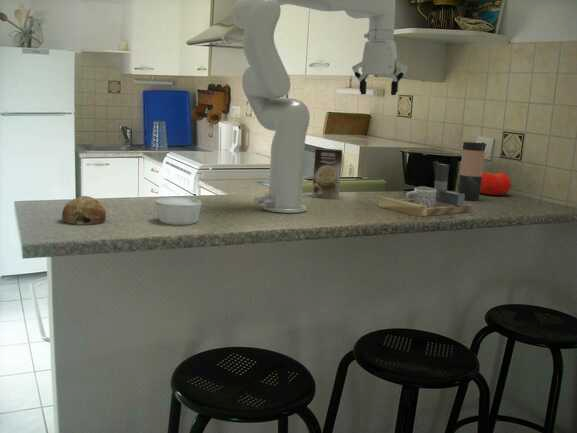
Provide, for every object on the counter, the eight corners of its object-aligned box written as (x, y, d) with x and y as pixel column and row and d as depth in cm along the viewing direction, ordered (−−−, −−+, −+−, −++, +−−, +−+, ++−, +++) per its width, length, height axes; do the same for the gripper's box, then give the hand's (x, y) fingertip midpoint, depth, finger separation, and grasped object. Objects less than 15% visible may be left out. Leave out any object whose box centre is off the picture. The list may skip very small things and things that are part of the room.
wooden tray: (418, 216, 183) (419, 206, 182) (378, 206, 197) (379, 197, 196) (472, 211, 197) (473, 202, 196) (431, 203, 210) (431, 194, 210)
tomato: (504, 193, 246) (507, 171, 244) (512, 198, 234) (515, 175, 232) (471, 191, 247) (474, 169, 246) (477, 195, 235) (479, 173, 234)
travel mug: (482, 199, 225) (488, 143, 221) (476, 202, 219) (482, 144, 215) (461, 197, 229) (466, 141, 225) (454, 199, 223) (460, 142, 219)
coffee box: (311, 197, 209) (314, 148, 206) (312, 194, 215) (315, 147, 212) (338, 199, 208) (342, 150, 205) (339, 196, 214) (342, 149, 211)
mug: (427, 208, 200) (429, 187, 198) (438, 212, 193) (440, 190, 192) (399, 208, 197) (401, 187, 195) (409, 212, 190) (411, 190, 189)
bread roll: (63, 239, 148) (64, 211, 143) (60, 213, 155) (60, 186, 151) (107, 238, 152) (109, 210, 147) (101, 213, 159) (103, 186, 155)
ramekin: (208, 224, 156) (208, 203, 155) (165, 227, 150) (166, 205, 149) (189, 216, 165) (190, 196, 164) (148, 218, 159) (149, 198, 158)
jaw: (457, 205, 192) (461, 167, 190) (416, 197, 206) (419, 161, 204) (463, 205, 194) (467, 167, 192) (422, 196, 207) (425, 161, 205)
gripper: (349, 36, 191) (347, 94, 195) (405, 35, 184) (402, 95, 187) (358, 38, 198) (355, 94, 201) (412, 37, 190) (408, 95, 194)
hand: (378, 94), depth 194 cm, fingers open, 9 cm apart
